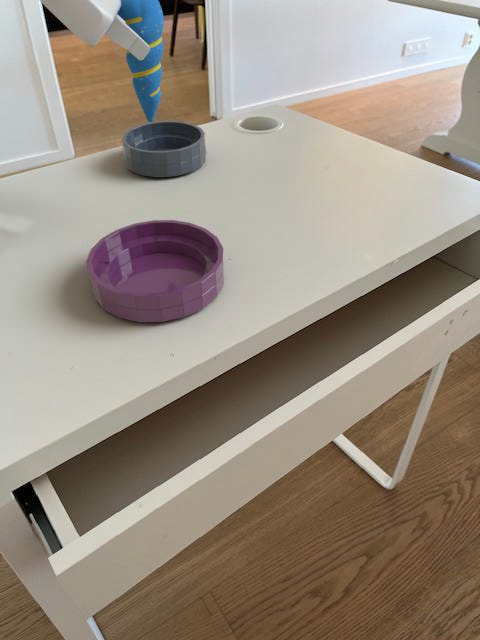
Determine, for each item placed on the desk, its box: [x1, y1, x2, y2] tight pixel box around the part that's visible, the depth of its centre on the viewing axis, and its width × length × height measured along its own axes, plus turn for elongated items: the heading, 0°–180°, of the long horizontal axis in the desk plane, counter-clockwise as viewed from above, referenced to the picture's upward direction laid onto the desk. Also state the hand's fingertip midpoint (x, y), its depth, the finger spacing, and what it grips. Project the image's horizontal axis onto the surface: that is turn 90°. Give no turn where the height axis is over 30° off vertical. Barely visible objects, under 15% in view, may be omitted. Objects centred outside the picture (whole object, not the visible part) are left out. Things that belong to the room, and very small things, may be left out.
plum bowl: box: [85, 219, 225, 323], centre depth 59 cm, size 15×15×4 cm
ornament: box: [117, 0, 165, 123], centre depth 59 cm, size 5×5×15 cm
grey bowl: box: [121, 120, 207, 178], centre depth 84 cm, size 13×13×4 cm
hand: (148, 47), depth 58 cm, fingers closed on ornament, 5 cm apart
